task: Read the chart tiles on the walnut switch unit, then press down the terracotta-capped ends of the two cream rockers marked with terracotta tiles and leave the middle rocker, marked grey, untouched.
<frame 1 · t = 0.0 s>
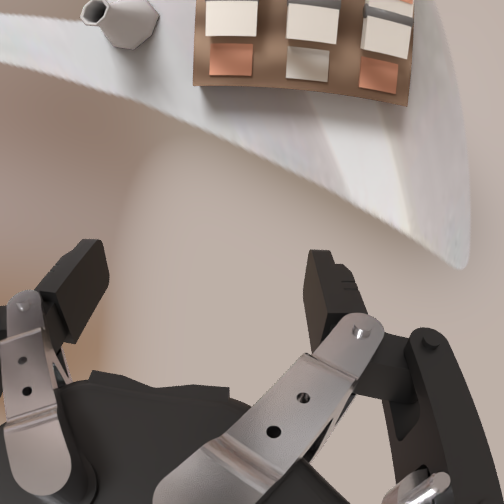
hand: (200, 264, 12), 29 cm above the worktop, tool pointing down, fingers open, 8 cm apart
rocker b: (313, 1, 24), point 6 cm above the worktop, hinge at 10.0°
switch unit: (304, 27, 30), on the worktop
flask: (131, 23, 30), on the worktop
rocker c: (388, 16, 24), point 6 cm above the worktop, hinge at 10.0°
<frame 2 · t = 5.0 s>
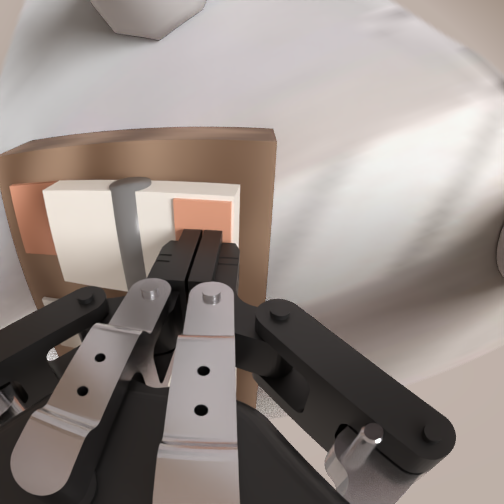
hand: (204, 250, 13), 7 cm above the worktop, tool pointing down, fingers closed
rocker a: (136, 238, 14), point 6 cm above the worktop, hinge at 5.2°, touching gripper
rocker b: (159, 359, 18), point 6 cm above the worktop, hinge at 10.0°
switch unit: (152, 295, 23), on the worktop
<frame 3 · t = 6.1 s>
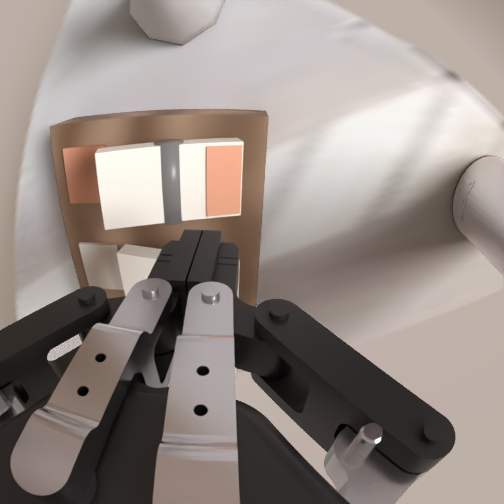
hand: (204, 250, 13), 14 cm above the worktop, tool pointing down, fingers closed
rocker a: (170, 181, 20), point 6 cm above the worktop, hinge at -17.5°, touching switch unit
rocker b: (177, 285, 24), point 6 cm above the worktop, hinge at 10.0°
switch unit: (168, 244, 29), on the worktop
flask: (178, 2, 18), on the worktop
rocker c: (186, 355, 28), point 6 cm above the worktop, hinge at 10.0°
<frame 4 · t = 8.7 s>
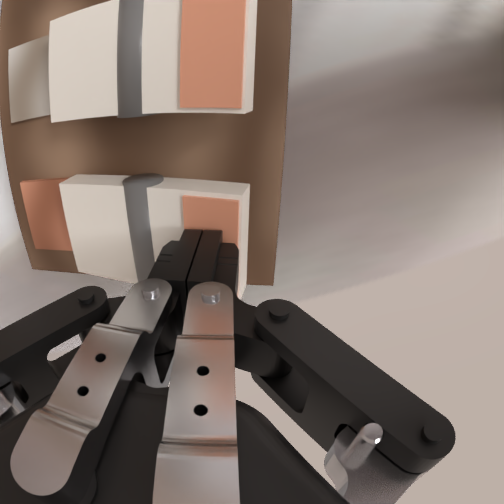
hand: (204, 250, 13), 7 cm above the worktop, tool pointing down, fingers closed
rocker b: (138, 53, 10), point 6 cm above the worktop, hinge at 10.0°
switch unit: (142, 62, 15), on the worktop
rocker c: (148, 233, 14), point 6 cm above the worktop, hinge at 10.0°, touching gripper
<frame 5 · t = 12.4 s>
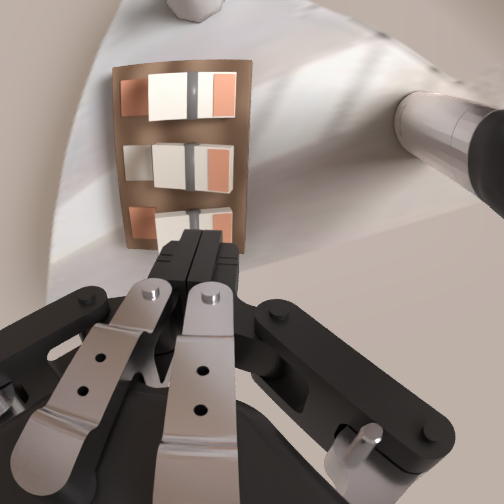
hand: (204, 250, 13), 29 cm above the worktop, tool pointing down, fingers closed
rocker a: (191, 95, 30), point 6 cm above the worktop, hinge at -15.5°
rocker b: (192, 166, 34), point 6 cm above the worktop, hinge at 10.0°
switch unit: (185, 154, 39), on the worktop
rocker c: (194, 231, 38), point 6 cm above the worktop, hinge at -17.0°
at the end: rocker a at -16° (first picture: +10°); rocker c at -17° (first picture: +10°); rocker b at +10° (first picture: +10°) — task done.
